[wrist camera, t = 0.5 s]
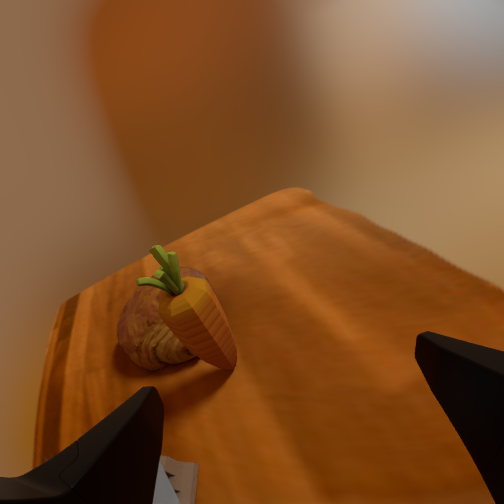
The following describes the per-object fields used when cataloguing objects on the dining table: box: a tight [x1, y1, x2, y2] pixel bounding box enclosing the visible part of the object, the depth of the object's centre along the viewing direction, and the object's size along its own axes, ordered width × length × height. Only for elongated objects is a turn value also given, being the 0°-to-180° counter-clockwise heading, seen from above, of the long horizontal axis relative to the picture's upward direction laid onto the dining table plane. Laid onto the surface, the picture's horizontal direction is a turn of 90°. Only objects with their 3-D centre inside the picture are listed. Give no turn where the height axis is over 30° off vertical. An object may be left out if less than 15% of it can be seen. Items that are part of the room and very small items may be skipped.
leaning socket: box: [153, 456, 199, 504], centre depth 15 cm, size 11×9×9 cm
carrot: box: [136, 245, 237, 371], centre depth 25 cm, size 5×5×15 cm
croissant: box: [117, 267, 214, 371], centre depth 36 cm, size 14×16×8 cm
